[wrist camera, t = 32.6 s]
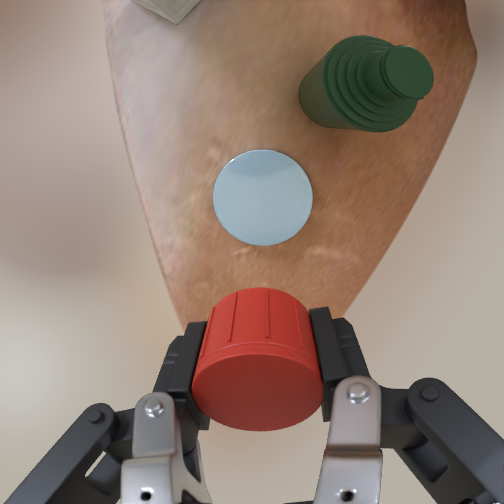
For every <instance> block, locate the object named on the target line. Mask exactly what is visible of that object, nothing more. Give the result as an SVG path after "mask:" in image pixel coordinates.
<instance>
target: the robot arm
mask: <svg viewBox="0 0 504 504" xmlns="http://www.w3.org/2000/svg"><path fill="white" fill-rule="evenodd" d="M309 315H310V318H311V323H312V327H313V332H314V337H315V342H316V347H317V352H318V358H319V363H320V369H321V374H322V380H323V401H322V403H321V407H322V415H323V421H324V422H328V421H330V427H329V433H328V439H327V445H326V449H325V451H324V455H323V460H322V465H321V470H320V475H319V479H318V484H317V489H316V493H315V497H314V500H313V501H305V502H295V503H285V504H379V496H380V487H381V477H382V463H383V462H382V461H383V454H382V450H381V449H380V448H393V449H394V450H395V451H396V453H397V454H398V455H399V456H400V458H401V459H402V460H403V461H404V463H405V464H406V465H407V466H408V468H409V469H410V470H411V471H412V473H413V474H414V475H415V476H416V478H417V479H418V480H419V481H420V483H421V484H422V485H423V486H424V488H425V489H426V490H427V491H428V493H429V494H430V495H431V496H432V498H433V499H434V500H435V501H436V503H437V504H504V439H502V437H501V436H499V434H497V433H496V432H495V431H494V430H493V429H492V428H491V427H490V426H489V425H488V424H487V423H486V422H485V421H484V420H483V419H482V418H481V417H480V416H479V415H478V414H477V413H476V412H475V411H474V410H473V409H472V408H471V407H469V406H468V405H467V404H466V403H465V402H464V401H463V400H462V399H461V398H460V397H459V396H458V395H457V394H456V393H455V392H454V391H452V390H451V389H450V388H449V387H448V386H447V385H446V384H445V383H444V382H442V381H440V380H438V379H435V378H423V379H420V380H418V381H416V382H414V383H413V384H412V385H411V386H410V388H409V389H390V388H385V387H382V386H380V385H379V384H378V383H377V382H376V381H374V380H373V379H372V378H371V376H370V374H369V372H368V368H367V365H366V363H365V360H364V357H363V354H362V351H361V349H360V346H359V343H358V340H357V338H356V335H355V332H354V329H353V327H352V325H351V324H350V323H349V322H348V321H347V320H346V319H345V318H337V319H332V317H331V314H330V311H329V308H328V307H321V308H314V309H309ZM207 322H208V321H201V322H190V323H188V325H187V328H186V331H185V334H184V336H177V337H176V338H175V339H174V340H173V342H172V343H171V344H170V345H169V348H168V350H167V353H166V356H165V359H164V361H163V364H162V367H161V370H160V372H159V375H158V378H157V381H156V384H155V386H154V389H153V392H152V393H149V394H147V395H145V396H143V397H142V398H141V399H140V400H139V401H138V402H137V404H136V406H135V408H133V409H128V410H123V411H118V412H114V410H113V409H112V408H111V407H110V406H109V405H107V404H104V403H97V404H94V405H91V406H90V407H88V408H87V409H86V410H85V411H84V412H83V413H82V414H81V415H80V416H79V417H78V419H77V420H76V421H75V422H74V423H73V424H72V425H71V426H70V428H69V429H68V430H67V431H66V432H65V433H64V434H63V435H62V437H61V438H60V439H59V440H58V441H57V442H56V443H55V445H54V446H53V447H52V448H51V449H50V450H49V451H48V453H47V454H46V455H45V456H44V457H43V458H42V459H41V461H40V462H39V463H38V464H37V465H36V466H35V468H34V469H33V470H32V471H31V472H30V473H29V474H28V476H27V477H26V478H25V479H24V480H23V481H22V483H21V484H20V485H19V486H18V487H17V489H16V490H15V491H14V492H13V493H12V494H11V496H10V497H9V498H8V499H7V501H6V502H5V503H4V504H116V503H117V501H118V500H119V499H120V497H121V502H120V503H121V504H213V503H212V500H211V497H210V494H209V492H208V490H207V488H206V484H205V478H204V472H203V465H202V459H201V452H200V444H199V441H198V440H197V436H198V431H199V430H208V429H209V423H210V418H209V417H208V416H207V415H205V414H204V413H203V412H202V411H201V410H200V408H199V407H198V405H197V403H196V401H195V399H194V397H193V394H192V383H193V379H194V375H195V370H196V366H197V362H198V358H199V354H200V350H201V346H202V342H203V338H204V334H205V330H206V326H207ZM103 451H104V452H106V455H105V456H104V457H103V458H102V459H101V461H100V462H99V463H98V464H97V466H96V467H95V468H94V470H93V471H92V472H91V473H90V474H89V476H87V477H85V474H86V472H87V471H88V469H89V468H90V467H91V466H92V464H93V463H94V462H95V461H96V459H97V458H98V457H99V456H100V455H101V453H102V452H103Z"/></svg>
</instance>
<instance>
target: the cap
mask: <svg viewBox="0 0 504 504" xmlns="http://www.w3.org/2000/svg"><path fill="white" fill-rule="evenodd" d="M192 394H193V397H194V399H195V401H196V403H197V405H198V407H199V408H200V410H201V411H202V412H203V413H204V414H205V415H207V416H208V417H209V418H211V419H213V420H214V421H216V422H218V423H221V424H223V425H225V426H228V427H232V428H235V429H240V430H247V431H272V430H278V429H283V428H287V427H290V426H293V425H296V424H298V423H300V422H302V421H304V420H305V419H307V418H308V417H310V416H311V415H312V414H313V413H314V412H316V410H317V409H318V408H319V407H320V405H321V403H322V401H323V380H322V374H321V369H320V363H319V358H318V352H317V347H316V342H315V337H314V332H313V327H312V323H311V318H310V315H309V313H308V311H307V310H306V308H305V307H304V306H303V305H302V304H301V303H300V302H299V301H298V300H297V299H296V298H294V297H293V296H291V295H289V294H287V293H285V292H283V291H279V290H276V289H271V288H262V287H258V288H248V289H243V290H239V291H237V292H234V293H232V294H230V295H228V296H227V297H225V298H223V299H222V300H221V301H220V302H219V303H218V304H217V305H216V306H215V307H213V308H212V312H211V314H210V316H209V319H208V322H207V326H206V330H205V334H204V338H203V342H202V346H201V350H200V354H199V358H198V362H197V366H196V370H195V375H194V379H193V383H192Z"/></svg>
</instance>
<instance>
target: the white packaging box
mask: <svg viewBox="0 0 504 504" xmlns="http://www.w3.org/2000/svg"><path fill="white" fill-rule="evenodd" d="M130 1H132V2H134V3H136V4H138V5H140V6H142V7H144V8H146V9H148V10H150V11H152V12H154V13H156V14H158V15H160V16H162V17H164V18H166V19H168V20H169V21H171V22H173V23H175V24H178V23H179V22H180V21H181V20H182V19H183V18H184V17H185V16H186V15H187V14H188V13H189V12H190V10H191V9H192V8H193V7H194V6H195V5H196V4H197V3H198V2H199V1H200V0H130Z"/></svg>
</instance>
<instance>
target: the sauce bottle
mask: <svg viewBox="0 0 504 504" xmlns="http://www.w3.org/2000/svg"><path fill="white" fill-rule="evenodd" d="M433 81H434V76H433V71H432V68H431V65H430V63H429V62H428V60H427V59H426V57H425V56H424V55H423V54H422V53H420V52H419V51H418V50H416V49H414V48H412V47H408V46H402V45H398V46H394V45H392V44H391V43H389V42H387V41H385V40H382V39H379V38H376V37H372V36H365V35H360V36H353V37H349V38H346V39H344V40H342V41H340V42H339V43H337V44H336V45H335V46H334V47H333V48H332V49H331V50H330V51H329V52H328V53H327V54H326V55H325V56H324V57H323V58H322V59H321V60H320V61H319V62H318V63H317V64H316V66H315V67H314V68H313V69H312V70H311V71H310V72H309V73H308V74H307V75H306V76H305V77H304V79H303V80H302V82H301V85H300V88H299V100H300V104H301V107H302V109H303V111H304V112H305V113H306V115H307V116H308V117H309V118H310V119H311V120H312V121H314V122H315V123H317V124H319V125H322V126H325V127H331V128H342V129H352V130H361V131H369V132H387V131H391V130H394V129H396V128H398V127H399V126H401V125H403V124H404V123H405V122H406V121H407V120H408V119H409V118H410V116H411V115H412V113H413V111H414V110H415V108H416V105H417V102H418V100H421V99H424V96H426V95H427V94H428V93H429V92H430V90H431V88H432V86H433Z"/></svg>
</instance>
